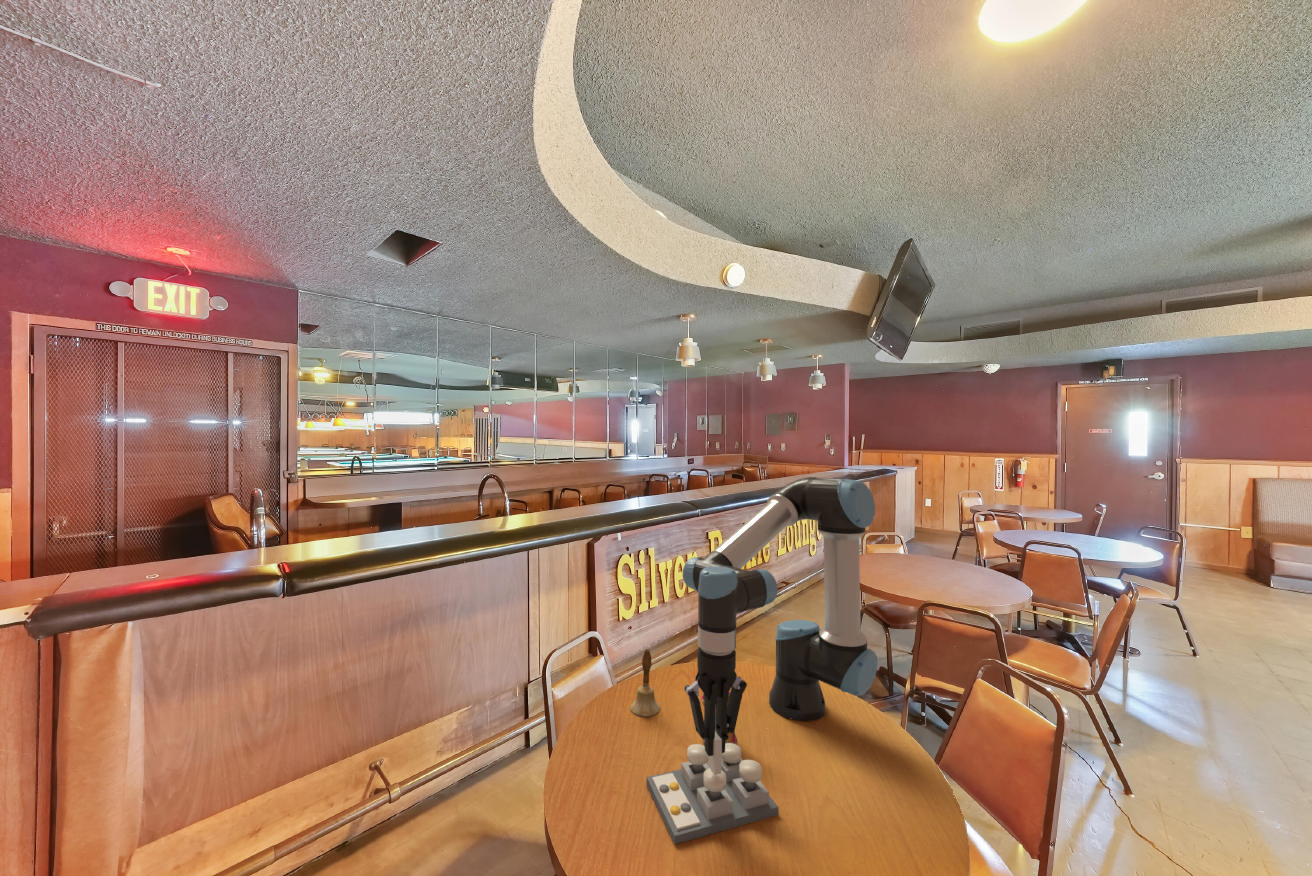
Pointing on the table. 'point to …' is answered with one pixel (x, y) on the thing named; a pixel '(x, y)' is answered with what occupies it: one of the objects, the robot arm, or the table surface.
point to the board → (707, 802)
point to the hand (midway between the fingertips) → (714, 769)
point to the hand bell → (645, 692)
